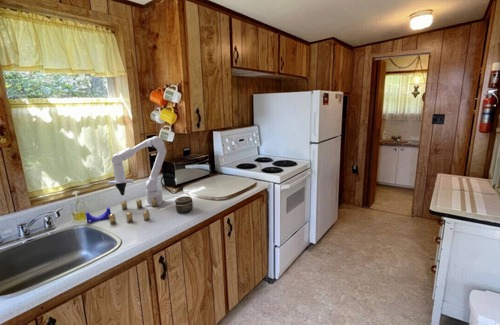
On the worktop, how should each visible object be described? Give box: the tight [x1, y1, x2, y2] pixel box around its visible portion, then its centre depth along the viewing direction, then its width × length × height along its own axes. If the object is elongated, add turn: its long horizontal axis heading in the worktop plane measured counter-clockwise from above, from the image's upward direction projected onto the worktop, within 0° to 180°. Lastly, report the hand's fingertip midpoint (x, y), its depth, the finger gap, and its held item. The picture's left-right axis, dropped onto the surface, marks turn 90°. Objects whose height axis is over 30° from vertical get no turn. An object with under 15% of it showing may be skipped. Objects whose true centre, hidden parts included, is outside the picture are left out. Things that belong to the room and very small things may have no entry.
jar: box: [174, 195, 194, 215], centre depth 155 cm, size 10×10×8 cm
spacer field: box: [108, 198, 158, 225], centre depth 154 cm, size 21×23×5 cm
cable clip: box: [85, 206, 112, 224], centre depth 149 cm, size 12×4×6 cm, turn 123°
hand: (122, 194), depth 162 cm, fingers closed
